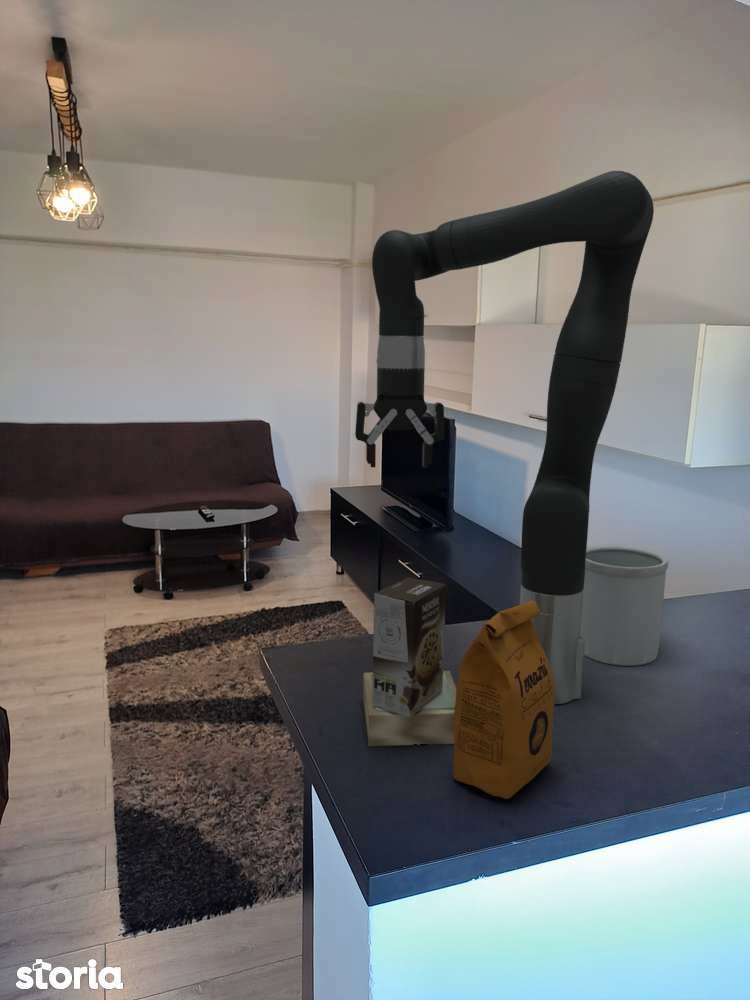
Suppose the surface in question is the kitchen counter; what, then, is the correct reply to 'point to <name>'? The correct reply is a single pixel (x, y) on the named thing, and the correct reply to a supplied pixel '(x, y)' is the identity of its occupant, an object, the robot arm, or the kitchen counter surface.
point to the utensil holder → (623, 604)
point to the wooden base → (411, 719)
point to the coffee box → (408, 645)
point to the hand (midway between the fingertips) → (399, 466)
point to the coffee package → (504, 705)
